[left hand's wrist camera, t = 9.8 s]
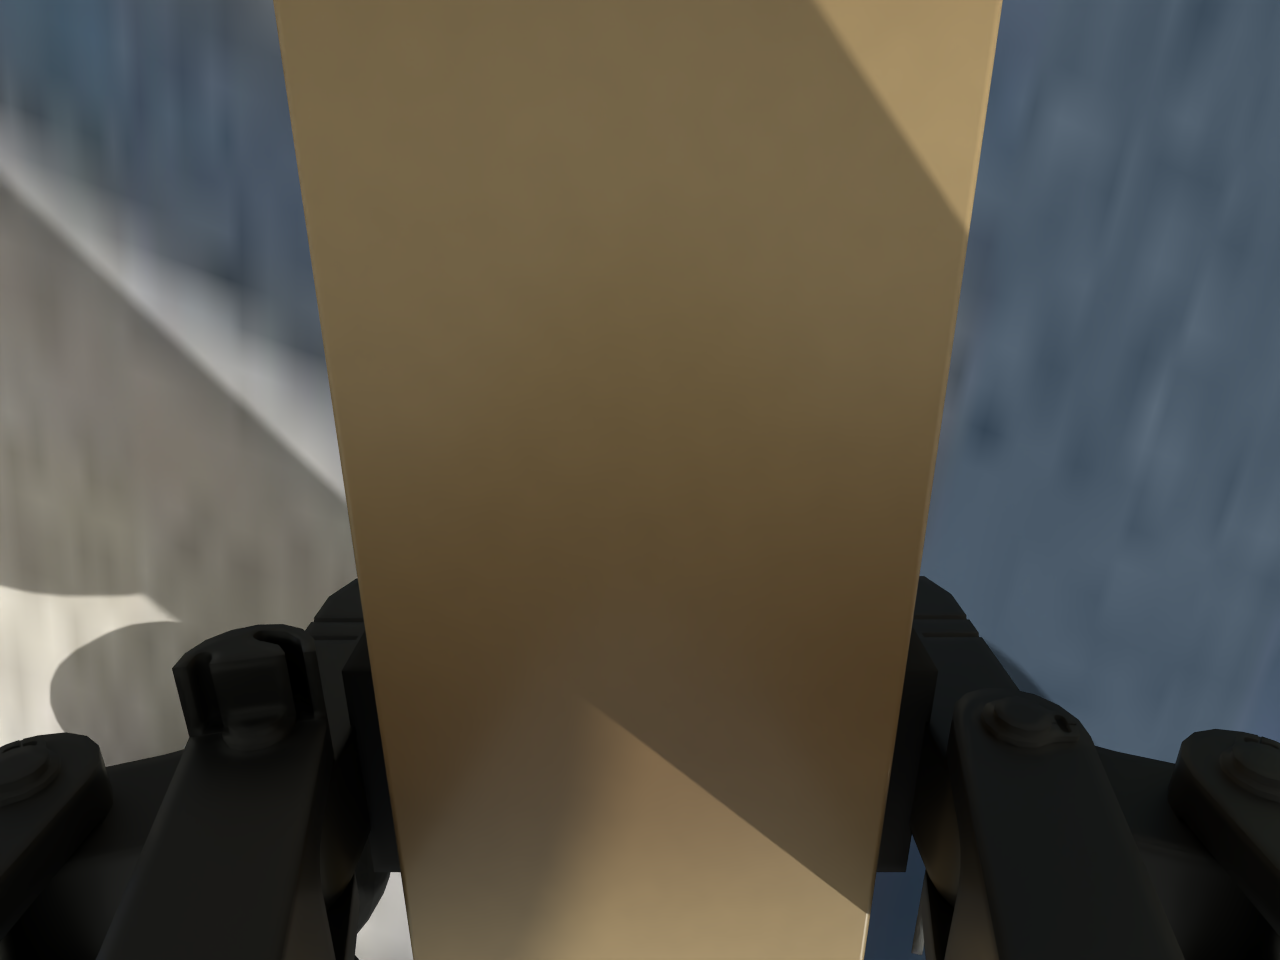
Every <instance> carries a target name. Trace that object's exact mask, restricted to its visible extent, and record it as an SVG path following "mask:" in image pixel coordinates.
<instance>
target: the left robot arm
mask: <svg viewBox="0 0 1280 960" xmlns="http://www.w3.org/2000/svg"><path fill="white" fill-rule="evenodd" d="M172 670H173V674H174V678H175V682H176V686H177V690H178V694H179V698H180V702H181V706H182V709H183V713H184V717H185V721H186V725H187V729H188V733H189V737H190V738H189V740H188V742H187V745H186V747H185V749H184V750H180V751H177V752H173V753H169V754H166V755H161V756H157V757H152V758H147V759H142V760H138V761H133V762H128V763H123V764H118V765H114V766H109V767H105V764H104V761H103V758H102V754H101V751H100V748H99V745H97V744H96V743H95V742H94V741H92V740H91V739H90V738H89V737H87V736H84V735H78V734H72V733H56V734H47V735H38V736H34V737H30V738H25V739H23V740H21V741H19V740H18V741H15V742H12V743H9V744H6V745H4V746H2V747H0V960H354V958H355V948H356V938H357V928H358V918H359V908H360V901H359V894H358V888H357V882H356V876H355V869H356V866H357V864H358V861H359V859H360V856H361V854H362V851H363V849H364V846H365V844H366V841H367V838H368V837H369V843H370V849H371V855H372V861H373V867H374V872H401V871H400V864H399V857H398V850H397V843H396V836H395V830H394V823H393V816H392V809H391V802H390V795H389V788H388V782H387V775H386V768H385V761H384V754H383V747H382V741H381V734H380V727H379V720H378V713H377V706H376V700H375V693H374V686H373V679H372V672H371V665H370V659H369V652H368V645H367V638H366V631H365V624H364V618H363V611H362V604H361V597H360V590H359V583H358V579H355V580H353V581H352V582H350V583H349V584H347V585H346V586H345V587H343V588H342V589H340V590H339V591H337V592H336V593H334V594H333V595H331V596H330V597H329V598H328V599H327V600H326V602H325V603H324V605H323V606H322V607H321V609H320V610H319V612H318V613H317V615H316V616H315V617H314V622H311V623H310V625H309V626H308V627H307V629H306V630H305V631H304V630H303V629H301V628H296V627H292V626H288V625H284V624H269V625H254V626H249V627H245V628H240V629H235V630H231V631H228V632H226V633H223V634H220V635H218V636H215V637H213V638H210V639H207V640H205V641H204V642H202V643H201V644H199V645H197V646H196V647H194V648H193V649H191V650H190V651H188V652H186V653H185V654H184V655H183V656H182V658H181V659H180V660H179V661H178V662H177V663H176V665H175V666H174V667H173V668H172ZM912 835H913V837H914V840H915V842H916V845H917V847H918V850H919V852H920V855H921V857H922V860H923V862H924V865H925V867H926V870H925V876H924V882H923V888H922V893H921V899H920V905H919V910H918V916H917V922H916V928H915V933H914V939H913V946H912V952H911V953H914V954H919V955H922V952H923V947H924V946H925V956H926V960H1280V743H1278V742H1276V741H1274V740H1271V739H1268V738H1265V737H1259V736H1258V735H1254V734H1250V733H1245V732H1239V731H1230V730H1221V729H1212V730H1206V731H1200V732H1194V733H1193V734H1192V735H1190V736H1189V737H1188V738H1186V739H1185V740H1184V741H1183V742H1182V744H1181V747H1180V750H1179V754H1178V757H1177V760H1176V763H1175V764H1174V763H1169V762H1164V761H1159V760H1154V759H1150V758H1145V757H1140V756H1135V755H1130V754H1125V753H1121V752H1116V751H1112V750H1109V749H1105V748H1101V747H1098V746H1094V743H1093V741H1092V738H1091V736H1090V735H1089V733H1088V732H1087V731H1086V729H1085V728H1084V727H1083V725H1082V724H1081V722H1080V721H1079V720H1078V719H1077V718H1075V717H1074V716H1073V715H1071V714H1070V713H1069V712H1067V711H1066V710H1065V709H1063V708H1062V707H1060V706H1059V705H1057V704H1055V703H1053V702H1050V701H1048V700H1046V699H1044V698H1041V697H1039V696H1037V695H1035V694H1031V693H1026V692H1022V691H1020V690H1019V689H1018V688H1017V686H1016V685H1015V683H1014V682H1013V681H1012V679H1011V678H1010V676H1009V675H1008V674H1007V672H1006V671H1005V669H1004V668H1003V666H1002V665H1001V664H1000V662H999V661H998V659H997V658H996V657H995V655H994V654H993V652H992V651H991V650H990V648H989V647H988V645H987V644H986V642H985V641H984V640H983V638H982V637H979V633H978V631H977V630H976V628H975V627H974V626H973V624H972V623H971V621H970V620H967V619H966V614H965V613H964V611H963V610H962V609H961V607H960V606H959V604H958V603H957V602H956V600H955V599H954V597H953V596H952V594H950V593H949V592H947V591H946V590H944V589H943V588H941V587H940V586H938V585H937V584H935V583H934V582H932V581H931V580H929V579H928V578H926V577H925V576H919V581H918V588H917V595H916V602H915V609H914V615H913V622H912V629H911V636H910V643H909V650H908V657H907V664H906V671H905V678H904V684H903V691H902V698H901V705H900V712H899V719H898V726H897V733H896V740H895V747H894V754H893V760H892V767H891V774H890V781H889V788H888V795H887V802H886V809H885V816H884V823H883V829H882V836H881V843H880V850H879V857H878V864H877V871H876V872H906V866H907V860H908V854H909V848H910V842H911V836H912Z"/></svg>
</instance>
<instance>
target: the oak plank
mask: <svg viewBox="0 0 1280 960" xmlns="http://www.w3.org/2000/svg"><path fill="white" fill-rule="evenodd" d="M1002 1H1003V0H273V2H274V9H275V16H276V22H277V29H278V36H279V43H280V50H281V57H282V64H283V70H284V77H285V84H286V91H287V98H288V105H289V111H290V118H291V125H292V132H293V139H294V146H295V152H296V159H297V166H298V173H299V180H300V187H301V193H302V200H303V207H304V214H305V221H306V228H307V234H308V241H309V248H310V255H311V262H312V269H313V276H314V282H315V289H316V296H317V303H318V310H319V317H320V323H321V330H322V337H323V344H324V351H325V358H326V364H327V371H328V378H329V385H330V392H331V399H332V405H333V412H334V419H335V426H336V433H337V440H338V447H339V453H340V460H341V467H342V474H343V481H344V488H345V494H346V501H347V508H348V515H349V522H350V529H351V535H352V542H353V549H354V556H355V563H356V570H357V576H358V583H359V590H360V597H361V604H362V611H363V618H364V624H365V631H366V638H367V645H368V652H369V659H370V665H371V672H372V679H373V686H374V693H375V700H376V706H377V713H378V720H379V727H380V734H381V741H382V747H383V754H384V761H385V768H386V775H387V782H388V788H389V795H390V802H391V809H392V816H393V823H394V830H395V836H396V843H397V850H398V857H399V864H400V871H401V877H402V884H403V891H404V898H405V905H406V912H407V918H408V925H409V932H410V939H411V946H412V953H413V959H414V960H864V954H865V947H866V940H867V933H868V926H869V919H870V912H871V905H872V899H873V892H874V885H875V878H876V871H877V864H878V857H879V850H880V843H881V836H882V829H883V823H884V816H885V809H886V802H887V795H888V788H889V781H890V774H891V767H892V760H893V754H894V747H895V740H896V733H897V726H898V719H899V712H900V705H901V698H902V691H903V684H904V678H905V671H906V664H907V657H908V650H909V643H910V636H911V629H912V622H913V615H914V609H915V602H916V595H917V588H918V581H919V574H920V567H921V560H922V553H923V546H924V539H925V533H926V526H927V519H928V512H929V505H930V498H931V491H932V484H933V477H934V470H935V464H936V457H937V450H938V443H939V436H940V429H941V422H942V415H943V408H944V401H945V394H946V388H947V381H948V374H949V367H950V360H951V353H952V346H953V339H954V332H955V325H956V319H957V312H958V305H959V298H960V291H961V284H962V277H963V270H964V263H965V256H966V249H967V243H968V236H969V229H970V222H971V215H972V208H973V201H974V194H975V187H976V180H977V174H978V167H979V160H980V153H981V146H982V139H983V132H984V125H985V118H986V111H987V104H988V98H989V91H990V84H991V77H992V70H993V63H994V56H995V49H996V42H997V35H998V28H999V22H1000V15H1001V8H1002Z"/></svg>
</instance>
